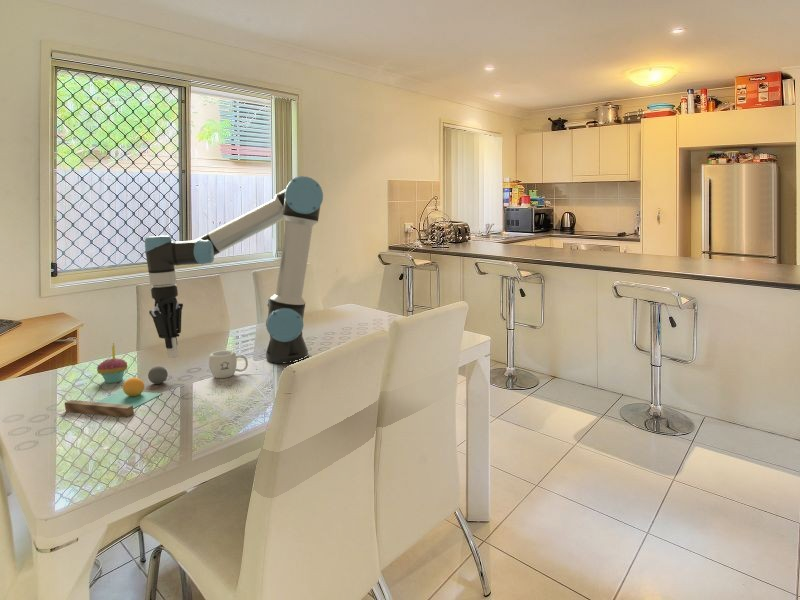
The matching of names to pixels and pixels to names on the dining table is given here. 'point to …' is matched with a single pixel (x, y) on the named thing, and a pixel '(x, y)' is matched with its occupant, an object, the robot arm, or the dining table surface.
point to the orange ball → (133, 387)
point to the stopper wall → (99, 408)
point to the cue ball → (157, 375)
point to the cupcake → (112, 368)
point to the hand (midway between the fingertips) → (173, 357)
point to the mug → (224, 363)
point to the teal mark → (129, 398)
